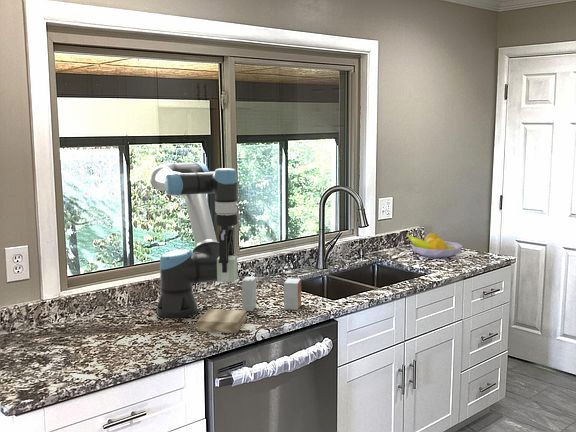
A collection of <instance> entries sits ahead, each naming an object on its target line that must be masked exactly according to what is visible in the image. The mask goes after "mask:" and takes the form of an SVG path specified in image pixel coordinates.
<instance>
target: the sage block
mask: <svg viewBox="0 0 576 432" xmlns="http://www.w3.org/2000/svg"><path fill="white" fill-rule="evenodd" d="M218 261H219V257H218V258H217V282H218V283H219V282H221V283H235V282H236V280H238V278H239V277H238V276H239V275H238V272H239V271H238V255H235V256H232V255H229V256H228V263H229V281H221V263H218Z"/></svg>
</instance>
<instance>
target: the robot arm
mask: <svg viewBox="0 0 576 432" xmlns="http://www.w3.org/2000/svg"><path fill="white" fill-rule="evenodd" d="M149 183H150V185H151V186H152V188H153V189H155V190H157V191H160V192H165V193H166V195H167V196H174V197H175V196H180V197H181V198H182V199H184V201H185V205H186V210H187V213H188V218H189V223H190V227H191V232H192V235H193V240H194V244H195V247H194V248H193V250H192V251H191V249H189V248H179V249H173V250H170V251H167V252H164V253H163V254H162V255H161V256H160V259H159V272H160V273H159V275H160V296H159V298H158V302H157V307H156V314H157V315H158V316H160V317H161V318H167V319H168V318H169V319H179V318H187V317H191V316H194V315H195V314H197V313H198V303H197V300H196V297H195V295H194V292H193V285H194V284H200V283H201V284H202V283H212V282H217V258H218V257H219V261H218V263H221V281H229V263H228V256H229V255H232V256H236V254H235V233H234V232H235V228H234V226H237V225H238V214H237V212H238V207H239V206H240V205H239V203H238V175H237V170H236V169H235V168H229V167H228V168H226V167H224V168H223V167H220V168H216V169H214V171H213V170H212V171H210V170H209V168H208V167H207V165H206V164H205V163H204V162H197V161H196V162H195V161H192V162H172V163H170V162H169V163H168V162H167V163H163V164H160V165H158V166H156V167H154V168H153V169H152V170H151V172H150V174H149ZM207 194H209V195H210V194H214V211H215V213H216V214H215V225H216V226H220V227H221V229H220V230H219V234H218V239H217V236H216V232H215V228H214V227H215V226H214V224H213V220H212V218H213V217H212V215H211V211H210V210H211V209H210V206H209V202H208V199H207ZM232 226H233V227H232Z"/></svg>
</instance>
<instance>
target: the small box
mask: <svg viewBox="0 0 576 432" xmlns="http://www.w3.org/2000/svg"><path fill="white" fill-rule="evenodd" d="M301 305H302V279H301V278H292V277H288V278H287V279H286V280H285V281H284V282H283V309H284V310H287V311H289V310H291V311H298V310H299V308H300V307H301Z"/></svg>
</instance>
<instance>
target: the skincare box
mask: <svg viewBox="0 0 576 432" xmlns="http://www.w3.org/2000/svg"><path fill="white" fill-rule="evenodd" d="M256 307H257V276H245V277H244V278H243V279H242V281H241V310H246V312H253V311H254V310H255V308H256Z"/></svg>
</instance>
